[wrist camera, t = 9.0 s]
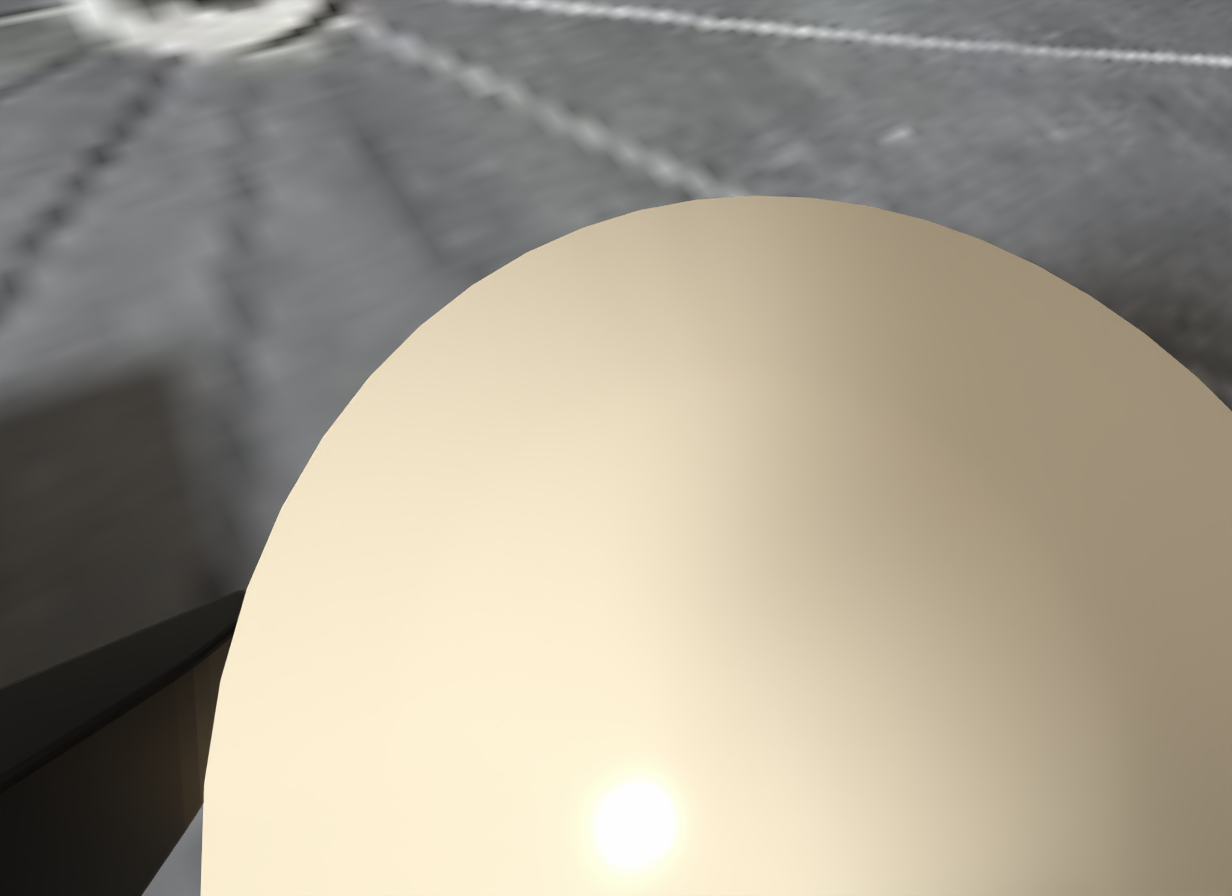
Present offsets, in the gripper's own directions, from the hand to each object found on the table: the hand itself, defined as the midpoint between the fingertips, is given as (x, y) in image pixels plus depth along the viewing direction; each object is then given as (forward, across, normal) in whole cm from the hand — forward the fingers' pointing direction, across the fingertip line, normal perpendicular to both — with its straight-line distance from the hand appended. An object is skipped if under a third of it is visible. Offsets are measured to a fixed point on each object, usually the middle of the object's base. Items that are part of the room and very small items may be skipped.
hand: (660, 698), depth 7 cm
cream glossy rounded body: (+6, 0, +5) cm, 8 cm away
